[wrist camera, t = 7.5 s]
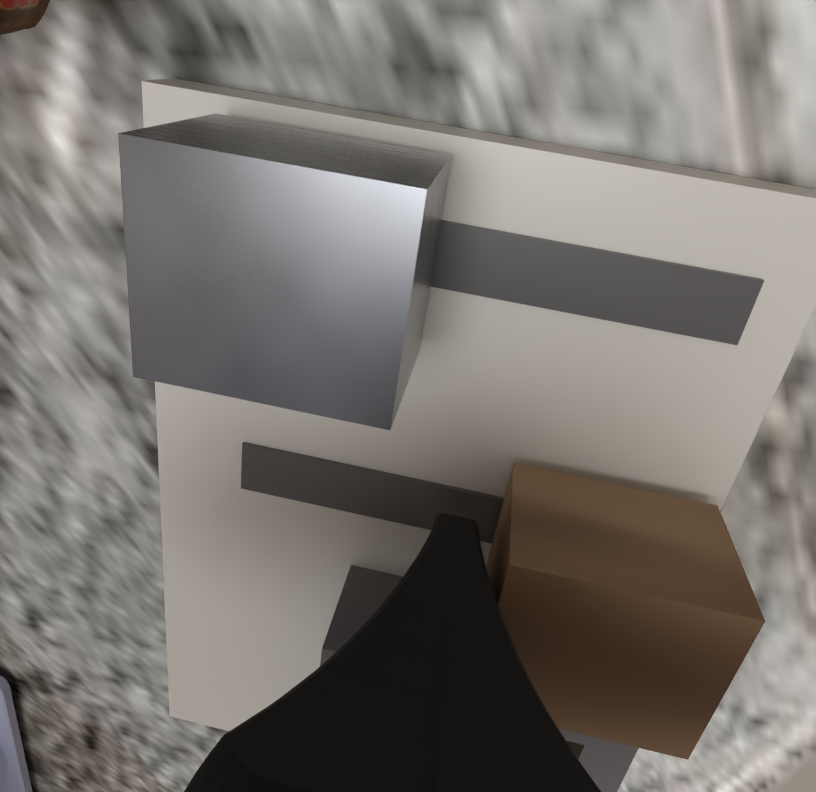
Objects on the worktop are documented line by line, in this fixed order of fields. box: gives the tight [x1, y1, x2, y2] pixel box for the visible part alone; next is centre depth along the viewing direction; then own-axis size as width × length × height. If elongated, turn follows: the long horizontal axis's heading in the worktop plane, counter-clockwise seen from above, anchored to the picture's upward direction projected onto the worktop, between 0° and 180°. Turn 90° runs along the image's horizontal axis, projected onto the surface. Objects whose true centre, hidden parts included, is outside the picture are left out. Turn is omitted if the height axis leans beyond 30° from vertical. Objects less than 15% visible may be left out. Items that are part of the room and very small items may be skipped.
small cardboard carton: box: [486, 463, 765, 759], centre depth 13 cm, size 4×4×3 cm
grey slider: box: [118, 113, 452, 430], centre depth 10 cm, size 4×4×3 cm
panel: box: [142, 78, 816, 792], centre depth 14 cm, size 17×12×4 cm
